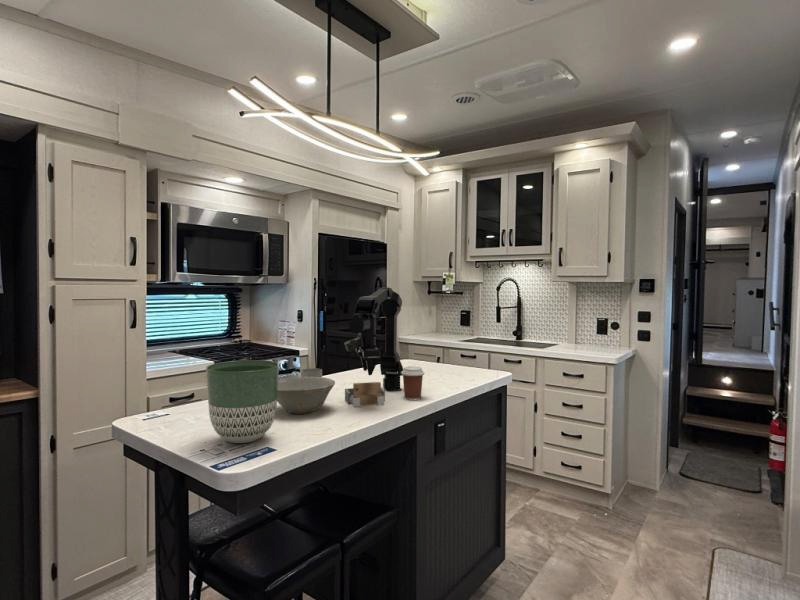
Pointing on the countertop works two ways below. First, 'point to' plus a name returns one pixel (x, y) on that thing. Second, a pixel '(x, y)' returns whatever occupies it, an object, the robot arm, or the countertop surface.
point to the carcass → (356, 401)
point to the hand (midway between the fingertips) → (367, 372)
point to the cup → (311, 372)
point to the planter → (242, 398)
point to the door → (367, 392)
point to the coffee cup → (412, 382)
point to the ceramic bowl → (303, 393)
